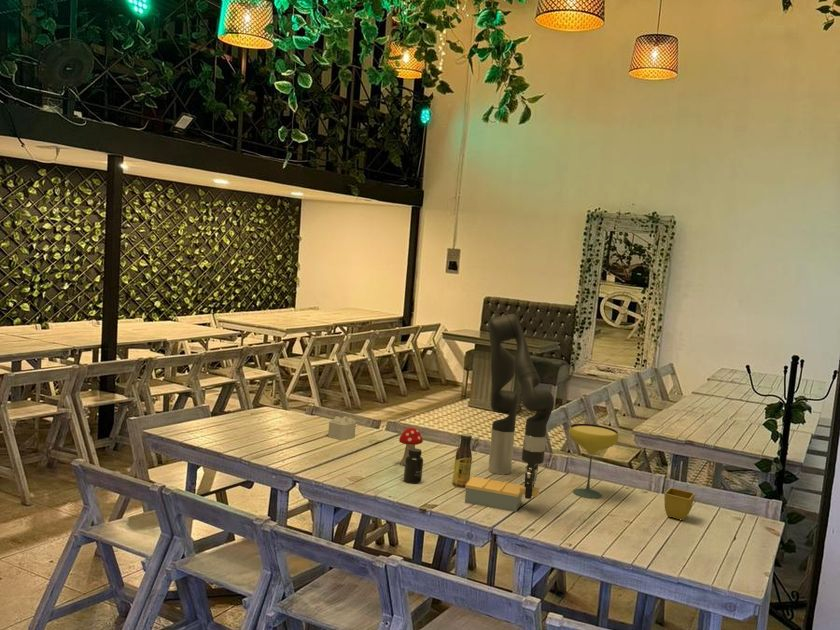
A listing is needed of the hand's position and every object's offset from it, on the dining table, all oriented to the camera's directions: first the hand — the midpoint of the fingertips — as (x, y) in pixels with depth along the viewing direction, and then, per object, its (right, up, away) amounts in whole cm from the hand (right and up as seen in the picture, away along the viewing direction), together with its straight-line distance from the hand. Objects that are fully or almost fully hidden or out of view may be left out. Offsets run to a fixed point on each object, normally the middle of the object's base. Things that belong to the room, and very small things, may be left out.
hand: (529, 496), depth 251 cm
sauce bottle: (-22, -2, +21) cm, 31 cm away
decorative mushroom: (-42, +2, +45) cm, 61 cm away
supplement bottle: (-40, 0, +23) cm, 47 cm away
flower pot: (+53, -10, +7) cm, 55 cm away
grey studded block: (-73, +7, +80) cm, 108 cm away
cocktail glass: (+26, -6, +26) cm, 37 cm away
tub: (-12, -4, +4) cm, 13 cm away
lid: (-9, +2, +3) cm, 9 cm away
